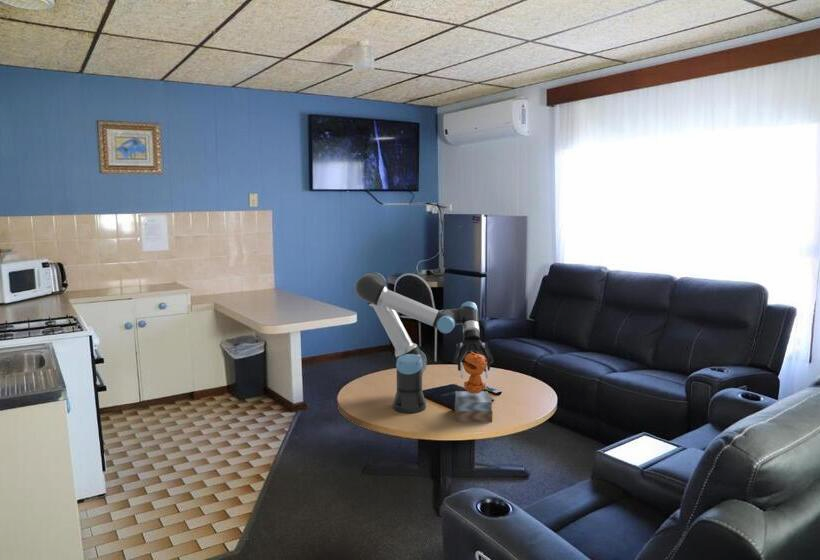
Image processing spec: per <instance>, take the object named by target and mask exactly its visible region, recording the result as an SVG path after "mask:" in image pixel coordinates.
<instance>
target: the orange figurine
mask: <svg viewBox="0 0 820 560" xmlns="http://www.w3.org/2000/svg"><path fill="white" fill-rule="evenodd" d="M485 360H486V359H485V357H484V356H483V355H480V354H479V353H478V352H473V351H472V352H469V353H468V354H466V355H465V357H464V361H465V362H462V366H463V369H464V370H465V373H467V374H468V375H469V377H468V380H467V381H464V383H463V386H464V390H465V391H468V392H470V393H475V394H476V393H480V392H481V391H482V390H483V391H484V390H485V389H486V384H487V383H486V382H483V379H482V376H481V375H483V373H485V371H486V370H485V367H487V366H486V365H487V364H486V362H487V361H486V362H485ZM485 364H486V365H485ZM464 390H463V391H464Z"/></svg>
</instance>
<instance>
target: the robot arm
mask: <svg viewBox="0 0 820 560" xmlns="http://www.w3.org/2000/svg"><path fill="white" fill-rule="evenodd" d="M354 288H355V289H354V290H355V293H356V296H358V297H359V298H360V299H361V300H362V301H365V302H366V303H367V305H368V306H370V307H371V308H373V309H374V312H375V314H376V315H377V317H378V319H379V320H380V323H381V325H382V326H383V328H384V329H385V332H386V334H387V336H388V338H389V340H390V341H391V343H392V346H393V347H394V349H395V352H396V353H395V359H396V364H395V367H396V391H395V395H394V397H393V401H392V409H394V411H396V412H399V413H406V414H414V413H420V412H423V411H425V410H426V408H427V402H426V398H425V396H424V392H423V375H424V372H425V371H426V369H427V363H428V359H427V356H426V354H425V353H424V352H423V351H422V350H421V349H420V348H419V346H418V344H417V343H414V342H413V341H412V339H411V337H410V335H409V333H408V331H407V330H406V328H405V326H404V324H403V322H402V321H401V318H400V317H399V315H398V313H400V314H402V315H404V316H406V317H410V318H412V319H414V320H417V321H419V322H421V323H423V324H426V325H427V326H428V325H429V326H431V327H434V328H435V329H437V330H438V331H439V332H440V333H442V334H449V333H451V332H452V331H453V330H454V328H455V327H456V326H458V325H462V337H463V338H462V339H463V341H462V342H459V341H457V342H456V349H455V353H454V355H453V364H456V365H457V371H460V379H463V378H464V371H463V369H464V367H463V364H462V363H463V360H464V359H465V356H466V355H467V353H471V352H473V353H477V352H478V353H479V354H480V355H483V356H484V357H485V359H486V360H485V362H486V361H487V362H486V364H487V365H486V364H485V365H486V366H487V367H485V370H486V371H485V372H484V373H485V379H488V377H489V372H490V369H491V364H493V363H494V358H493V355H492V353H491V351H490V348H489V342H488V341H485V342H482V341H481V335H480V334H481V332H480V323H479V318H480V317H479V309H478V306H477V304H476V303H475V302H473V301H465V302H463V303H462V304H461V307H459V308H451V309H441V310H439V309H436V308H434V307H431V306H429V305H426V304H423V303H422V302H419V301H417V300H414V299H412V298H409V297H407V296H405V295H402V294H401V293H398V292H395V291H392V290H390V289H389V288H388V286H387V281H386V278H385V277H384V276H383V275H382V274H381V273H379V272H375V271H373V272H368V273H365V274H364V275H363V276H360V277H359V278H358V279H357V281H356V282H355V286H354ZM462 347H464V349H463V351H462V353H461V354H460V356H459V353H460V350H461V348H462ZM481 347H482V348H483V349H484V351H485V352H484V351H483V350H482V348H481ZM458 357H459V358H458Z"/></svg>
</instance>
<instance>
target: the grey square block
mask: <svg viewBox="0 0 820 560" xmlns="http://www.w3.org/2000/svg"><path fill="white" fill-rule="evenodd" d="M492 403H493V402H492V399H491V397H490V394H489V392H488V391H484V390H483V391H482V390H481V392H480V393H476V394H475V393H470V392H468V390H465V391H464V390H463V391H457V390H455V399H454V413H455V417H456V418H455V419H456V422H457V423H459V422H463V423H465V422H466V423H467V422H468V423H469V422H471V423H472V422H473V423H474V422H475V423H476V422H477V423H479V422H480V423H484V422H485V423H486V422H487V423H490V422H491V423H492V422H493V408H492V407H493V404H492Z"/></svg>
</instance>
